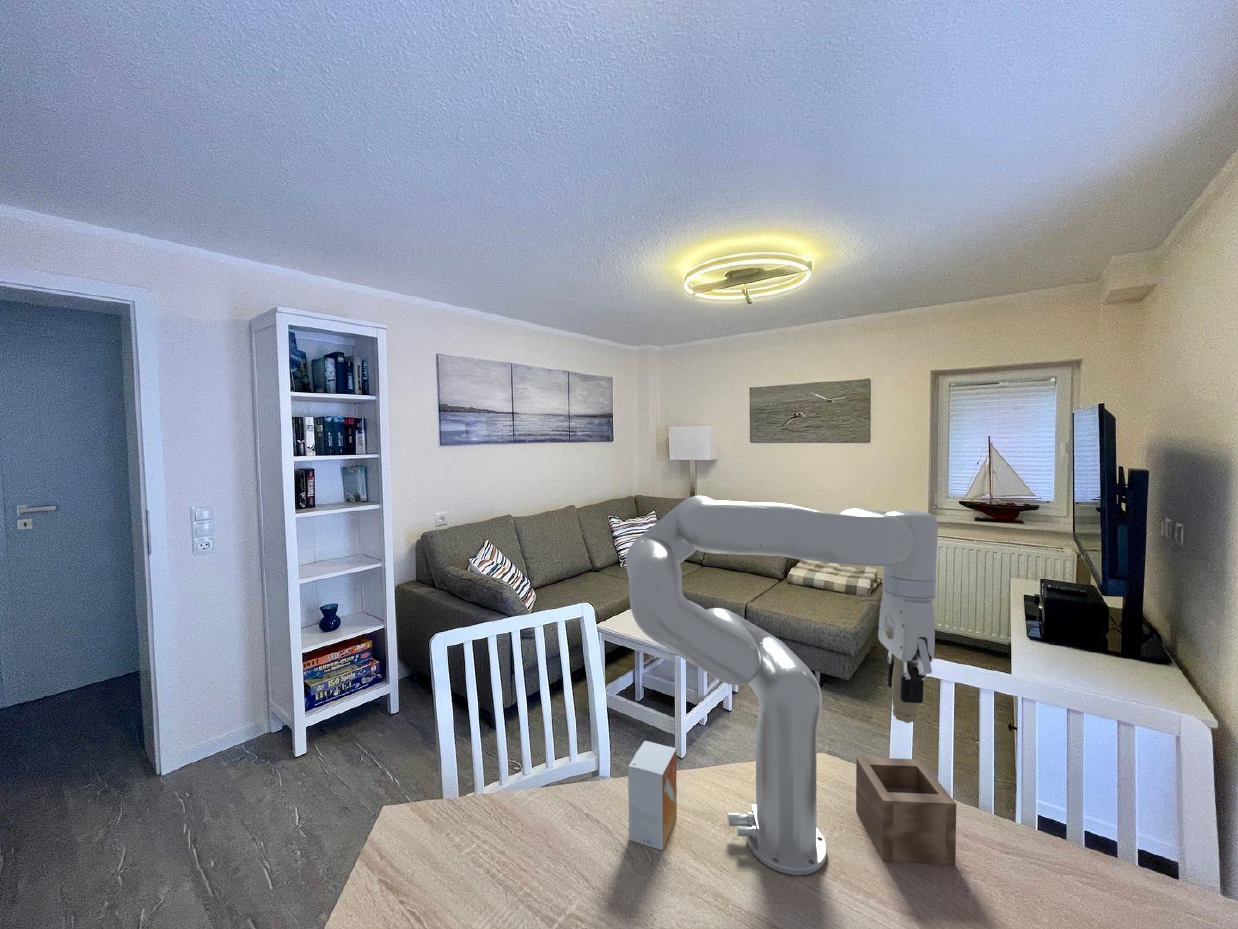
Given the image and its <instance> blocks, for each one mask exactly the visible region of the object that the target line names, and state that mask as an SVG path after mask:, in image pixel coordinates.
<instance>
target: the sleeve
mask: <svg viewBox="0 0 1238 929" xmlns="http://www.w3.org/2000/svg"><path fill="white" fill-rule="evenodd" d="M855 759H856V760H855V761H856V762H855V764H856V765H855V767H856V768H855V769H856V772H855V779H856V780H855V791H856V792H855V795H856V796H855V811H856V813H857V816H858V817H859V819H860V821H861V823H862V825H863V826H864V829H865V830H866V832H867V834H868V836H869V838H870V840H871V842H872V844H873V845H874V848H875V849H876V851H877V853H878V855H879V856H880V858H881V860H882V862H888V863H890V862H891V863H904V864H906V863H908V864H930V865H948V866H956V864H957V863H956V860H957V859H956V856H957V855H956V852H957V851H956V848H957V844H956V843H957V803H956V801H955V800H954V799H953V798H952V796H951V795H950V794H949V793H948V791H947V790H946V789H945V788H944V786H943V785H942V784H941V783H940V781H939V780H937V778H936V777H935V775H934V774H933V773H932V772H931V770H930V769H929V768H928V767H927V766H926V765H925V763H924V762H923V760H921V758H892V757H891V758H890V757H865V756H863V757H861V756H860V757H859V756H856V758H855ZM884 787H894V788H916V789H917V790H918V792H919V793H920V794H919V793H894V792H887V791H886V789H885V788H884Z"/></svg>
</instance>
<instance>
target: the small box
mask: <svg viewBox="0 0 1238 929" xmlns="http://www.w3.org/2000/svg"><path fill="white" fill-rule="evenodd" d="M627 770H628V771H627V772H628V773H627V774H628V775H627V777H628V778H627V779H628V780H627V782H628V784H627V787H628V792H627V793H628V840H629V841H632V842H634V843H638V844H641V845H644V846H647V847H650V848H652V849H653V848H654V849H657V850H660V851H664V849H665V847H666V844H667V843H668V838H669V837H670V834H671V832H672V830H673V827H674V825H675V822H676V820H677V817H678V814H677V813H678V812H677V810H678V808H677V807H678V806H677V804H678V803H677V802H678V800H677V798H678V797H677V796H678V795H677V793H678V792H677V790H678V789H677V787H678V786H677V748H676V747H672V746H667V745H663V744H660V743H656V742H652V741H647V740H644V741H643V742H642V743H641V745H640V747H639V748H638V750H637V751H636V752H635V754H634V756H633V758H632V760H631V761H630V762H629V764H628V767H627Z"/></svg>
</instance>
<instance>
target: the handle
mask: <svg viewBox="0 0 1238 929" xmlns="http://www.w3.org/2000/svg"><path fill="white" fill-rule="evenodd" d="M886 635H887V637H888V638H890V639H893V637H892V636H893V632H892V631H891V630H889V629H888V628H887V627H886ZM913 658H916V659H917V656H914V657H913ZM917 666H918V664H910V670H911V669H912V668H913V667H917ZM901 677H904V665H903V662H902V661H900V660H899V659H898V658H897V657H896V656H895V658H894V667H893V676H892V688H891V701H892V713H893V714H892V715H893V716H894V717H895V719H896V720H897V721H901V722H904V723H906V724H910V723H911V722H912V723H913V722H916V720H917V713H916V712H918V711H917V710H918V706H919V703H907V702H903V701H902V700H901Z"/></svg>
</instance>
